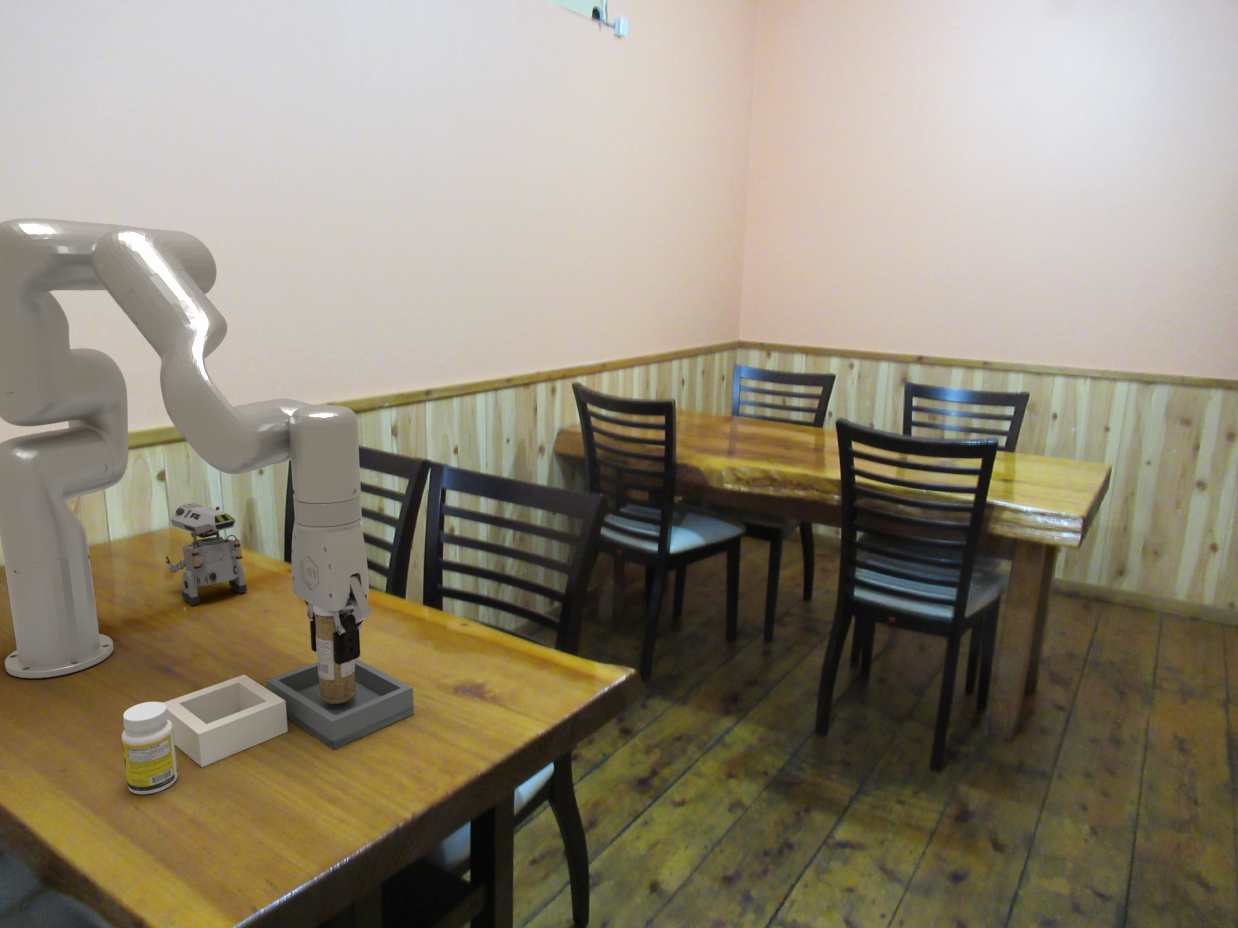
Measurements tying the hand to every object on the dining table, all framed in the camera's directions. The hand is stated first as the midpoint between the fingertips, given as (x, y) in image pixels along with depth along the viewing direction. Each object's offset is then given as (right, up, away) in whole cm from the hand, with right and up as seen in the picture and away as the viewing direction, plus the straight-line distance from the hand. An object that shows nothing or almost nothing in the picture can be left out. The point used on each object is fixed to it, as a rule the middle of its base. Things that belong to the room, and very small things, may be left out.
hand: (335, 652), depth 104 cm
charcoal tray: (0, -7, +2) cm, 8 cm away
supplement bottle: (-15, -11, -14) cm, 23 cm away
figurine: (-34, +1, +39) cm, 52 cm away
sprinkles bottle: (0, -6, +1) cm, 6 cm away
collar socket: (-12, -9, -4) cm, 15 cm away
